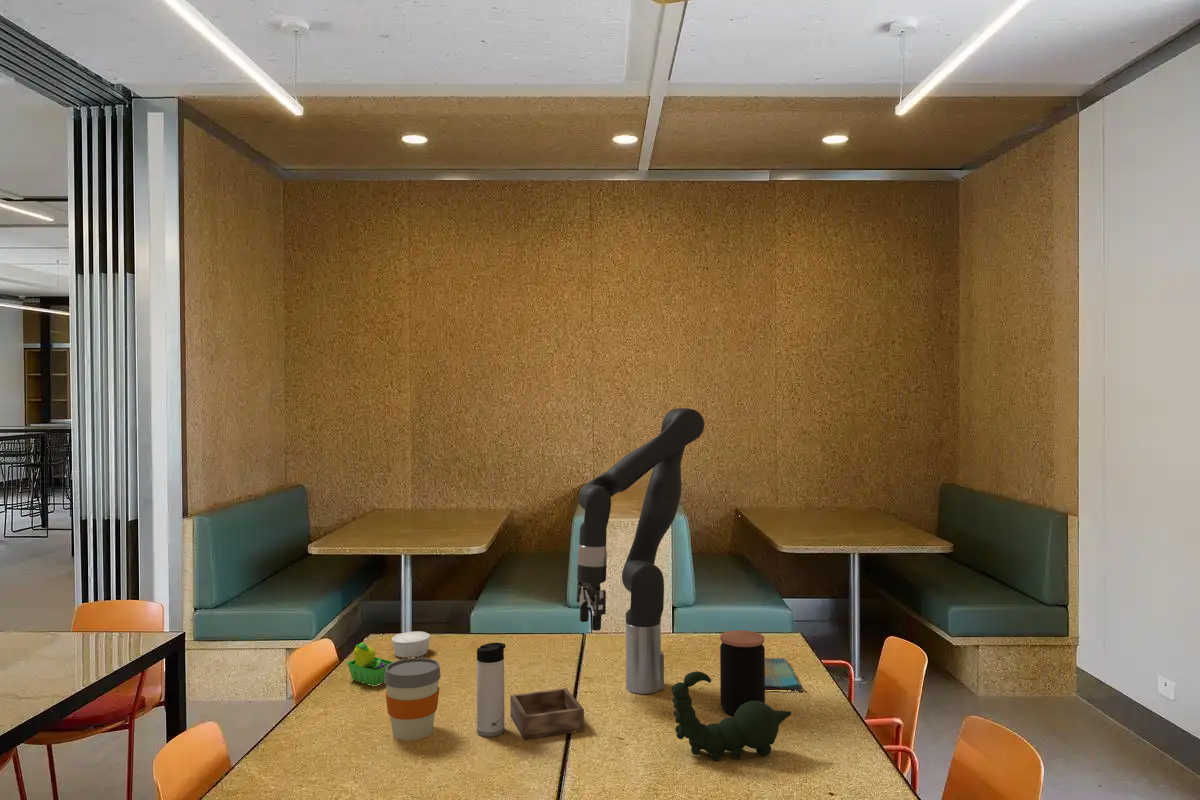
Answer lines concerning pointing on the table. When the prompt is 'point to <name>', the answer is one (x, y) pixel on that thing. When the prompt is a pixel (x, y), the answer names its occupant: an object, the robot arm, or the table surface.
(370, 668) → the fruit basket
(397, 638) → the ramekin
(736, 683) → the coffee jar
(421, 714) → the reusable coffee cup
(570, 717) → the walnut crate
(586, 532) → the robot arm
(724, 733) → the toy figurine
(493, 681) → the travel mug
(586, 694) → the table surface
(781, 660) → the dish towel
